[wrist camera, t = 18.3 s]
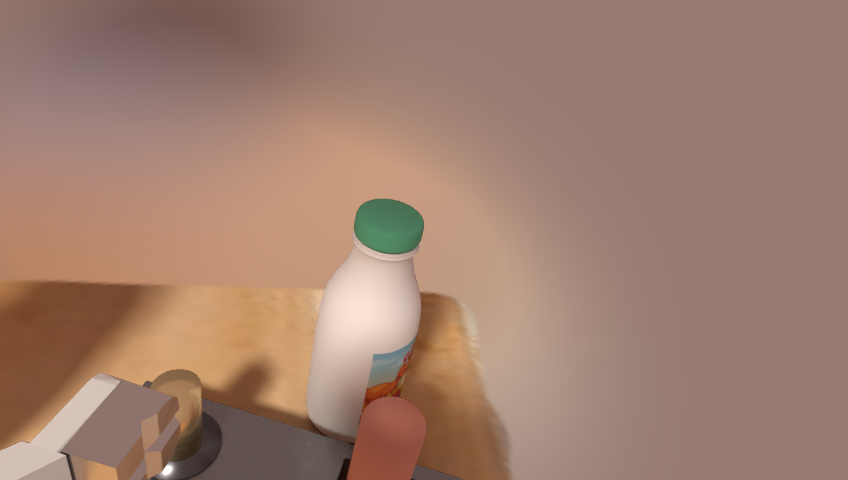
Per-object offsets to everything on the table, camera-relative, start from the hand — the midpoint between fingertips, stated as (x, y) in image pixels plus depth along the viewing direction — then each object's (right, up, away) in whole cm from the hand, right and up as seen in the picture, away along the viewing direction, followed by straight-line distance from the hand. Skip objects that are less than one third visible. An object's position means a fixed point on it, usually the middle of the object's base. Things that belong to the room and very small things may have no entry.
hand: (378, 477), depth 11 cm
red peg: (-3, -16, +29) cm, 34 cm away
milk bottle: (-6, -10, +37) cm, 39 cm away
